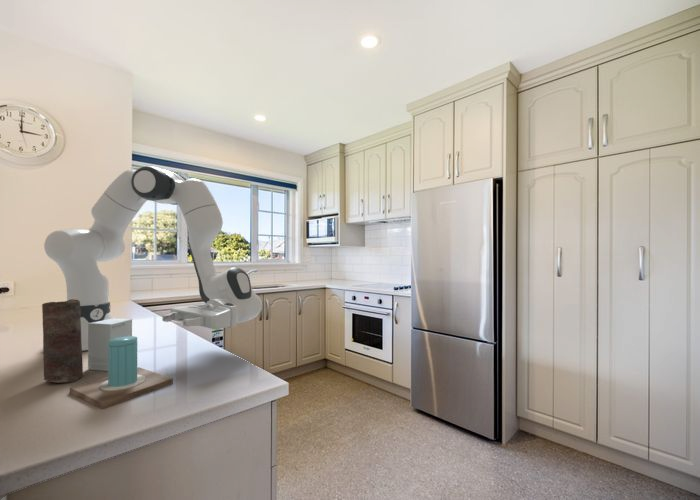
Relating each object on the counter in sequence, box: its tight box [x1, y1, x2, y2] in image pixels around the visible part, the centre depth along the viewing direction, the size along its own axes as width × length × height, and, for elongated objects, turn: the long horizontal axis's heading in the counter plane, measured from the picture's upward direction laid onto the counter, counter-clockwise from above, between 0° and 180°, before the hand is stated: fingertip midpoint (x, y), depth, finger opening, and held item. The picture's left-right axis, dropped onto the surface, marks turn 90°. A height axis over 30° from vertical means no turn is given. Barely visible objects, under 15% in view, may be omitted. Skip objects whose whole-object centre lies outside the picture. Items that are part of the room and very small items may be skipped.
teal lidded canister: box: [107, 335, 138, 387], centre depth 79 cm, size 6×6×10 cm
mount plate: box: [69, 366, 174, 409], centre depth 78 cm, size 15×15×6 cm
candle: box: [41, 299, 84, 384], centre depth 83 cm, size 8×7×20 cm
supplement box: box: [87, 317, 133, 372], centre depth 93 cm, size 7×7×13 cm
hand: (174, 321), depth 91 cm, fingers open, 8 cm apart
